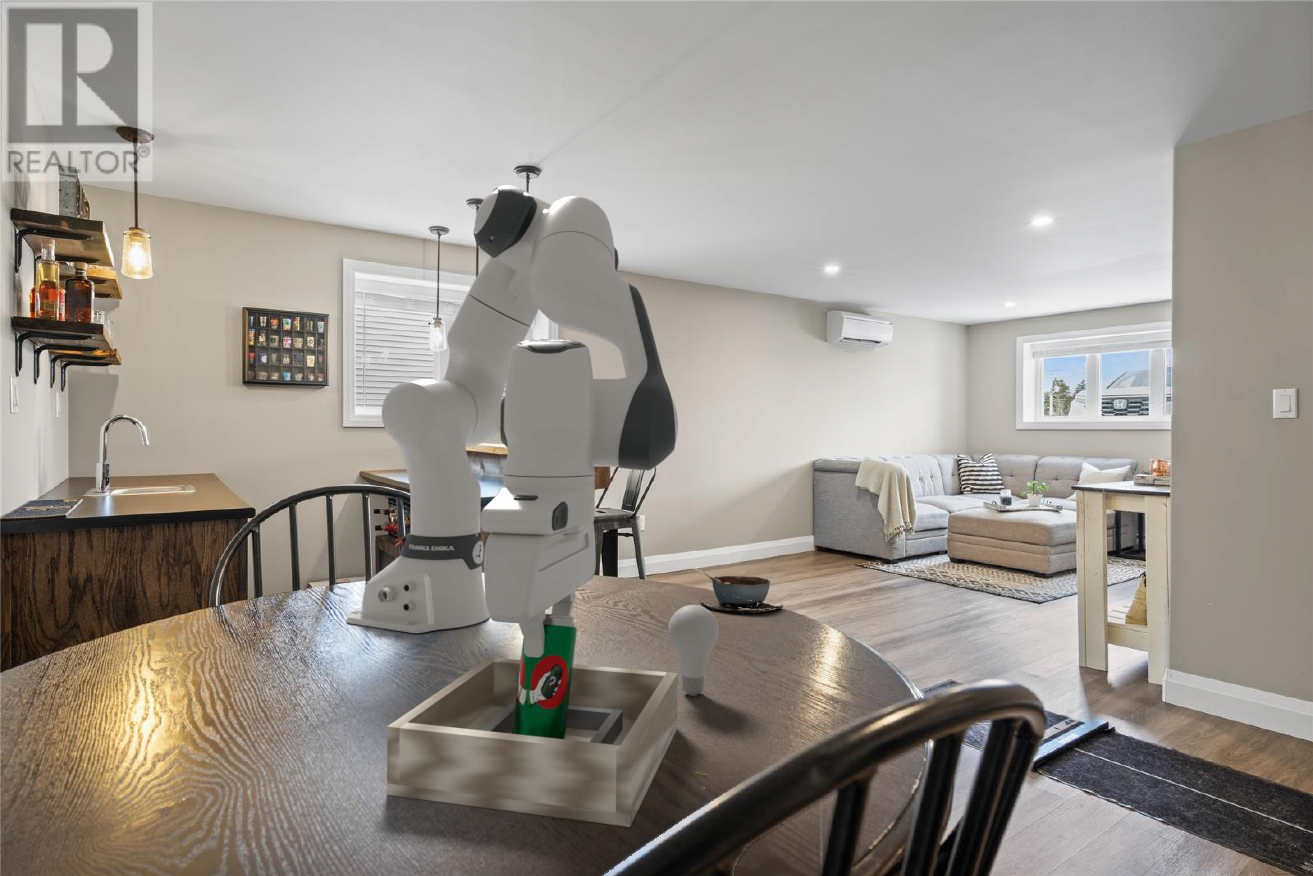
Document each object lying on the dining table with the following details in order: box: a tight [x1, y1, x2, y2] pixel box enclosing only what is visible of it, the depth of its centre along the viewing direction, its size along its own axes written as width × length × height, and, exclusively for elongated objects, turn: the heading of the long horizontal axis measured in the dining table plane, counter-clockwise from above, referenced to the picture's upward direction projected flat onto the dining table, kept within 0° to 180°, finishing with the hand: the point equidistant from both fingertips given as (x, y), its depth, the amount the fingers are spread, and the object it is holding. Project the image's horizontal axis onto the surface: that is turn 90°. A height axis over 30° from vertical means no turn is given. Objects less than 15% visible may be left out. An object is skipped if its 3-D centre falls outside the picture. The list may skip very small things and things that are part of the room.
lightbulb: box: [667, 604, 720, 697], centre depth 88 cm, size 6×6×11 cm
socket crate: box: [386, 657, 679, 828], centre depth 71 cm, size 22×20×6 cm
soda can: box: [511, 613, 578, 739], centre depth 69 cm, size 5×5×12 cm
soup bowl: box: [690, 566, 784, 614], centre depth 132 cm, size 15×16×7 cm
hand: (547, 645), depth 71 cm, fingers closed on soda can, 5 cm apart
